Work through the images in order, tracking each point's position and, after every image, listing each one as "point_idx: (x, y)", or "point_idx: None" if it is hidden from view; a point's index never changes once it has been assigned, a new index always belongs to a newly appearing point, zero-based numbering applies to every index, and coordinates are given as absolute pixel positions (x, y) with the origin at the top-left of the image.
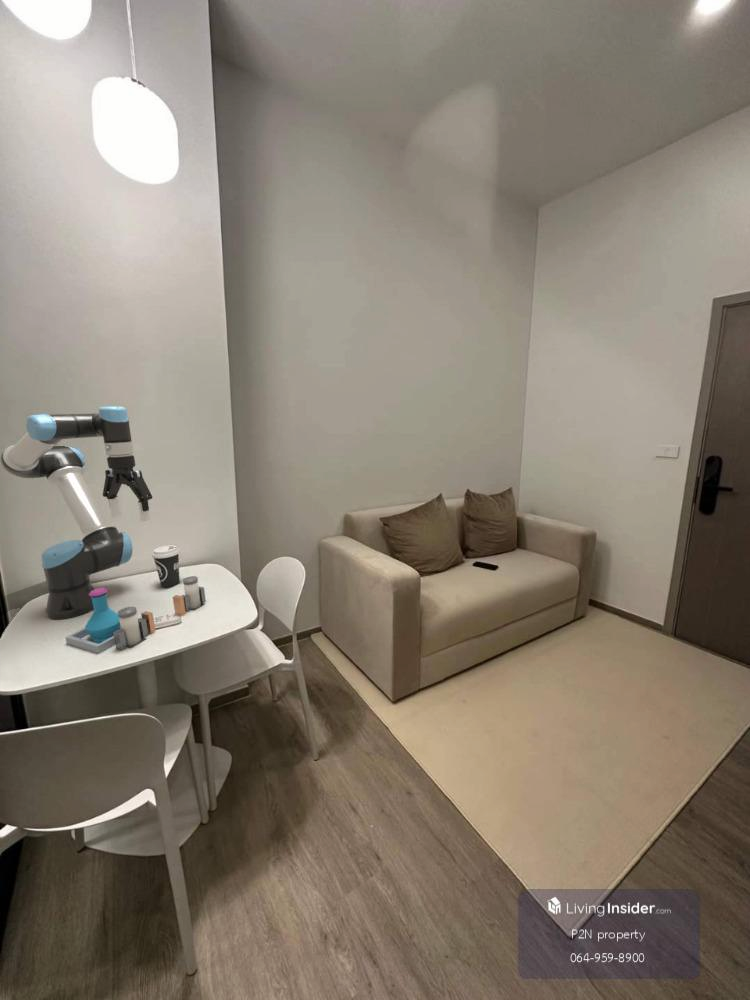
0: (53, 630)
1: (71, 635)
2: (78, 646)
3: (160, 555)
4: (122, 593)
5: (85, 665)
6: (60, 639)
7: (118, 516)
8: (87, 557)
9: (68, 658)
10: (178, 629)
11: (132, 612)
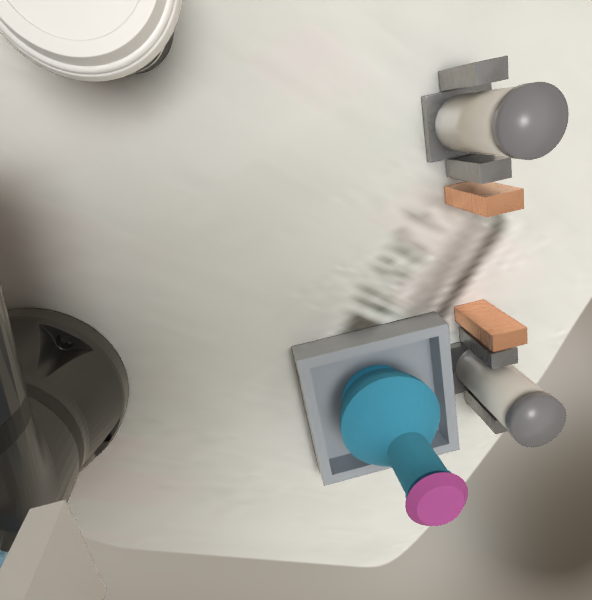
0: (174, 467)
1: (329, 474)
2: None
3: (143, 52)
4: (33, 219)
5: (453, 461)
6: (257, 467)
7: (78, 542)
8: (9, 476)
9: (384, 477)
10: (528, 246)
11: (564, 415)
